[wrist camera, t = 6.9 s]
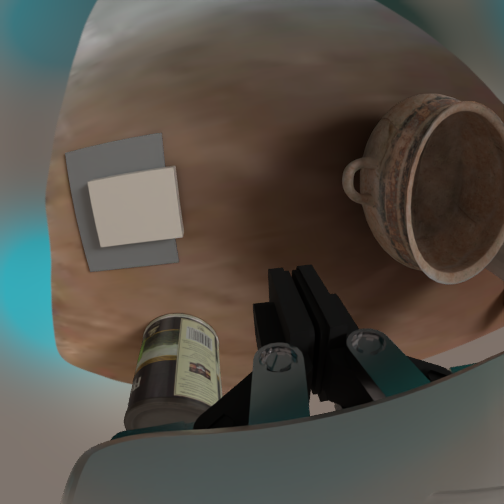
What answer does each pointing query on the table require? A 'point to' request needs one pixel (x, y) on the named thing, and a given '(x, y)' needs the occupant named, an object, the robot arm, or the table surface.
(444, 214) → the cooking pot
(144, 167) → the mat
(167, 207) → the tile
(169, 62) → the table surface
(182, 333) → the coffee can
